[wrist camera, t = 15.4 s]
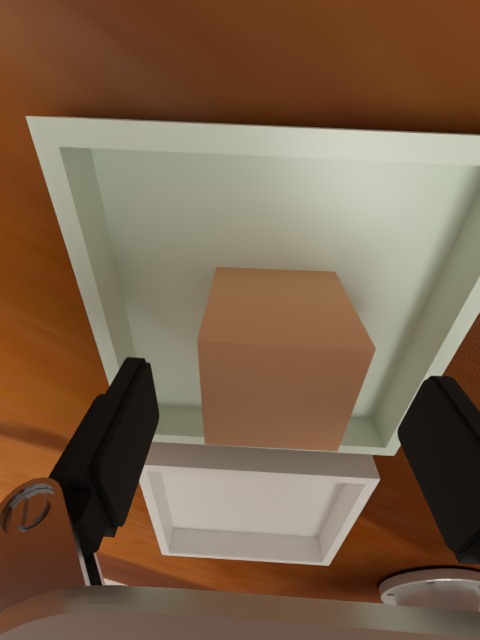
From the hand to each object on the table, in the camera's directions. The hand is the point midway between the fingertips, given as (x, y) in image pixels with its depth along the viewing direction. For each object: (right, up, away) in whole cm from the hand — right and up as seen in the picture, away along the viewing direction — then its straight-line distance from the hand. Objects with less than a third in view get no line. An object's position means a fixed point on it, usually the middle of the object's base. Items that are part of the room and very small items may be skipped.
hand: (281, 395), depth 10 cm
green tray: (0, +3, +4) cm, 5 cm away
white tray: (-1, -11, +14) cm, 18 cm away
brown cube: (0, +3, +3) cm, 4 cm away
